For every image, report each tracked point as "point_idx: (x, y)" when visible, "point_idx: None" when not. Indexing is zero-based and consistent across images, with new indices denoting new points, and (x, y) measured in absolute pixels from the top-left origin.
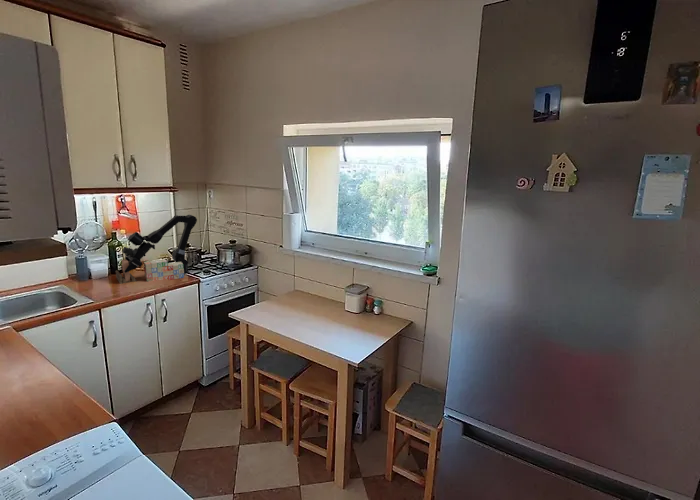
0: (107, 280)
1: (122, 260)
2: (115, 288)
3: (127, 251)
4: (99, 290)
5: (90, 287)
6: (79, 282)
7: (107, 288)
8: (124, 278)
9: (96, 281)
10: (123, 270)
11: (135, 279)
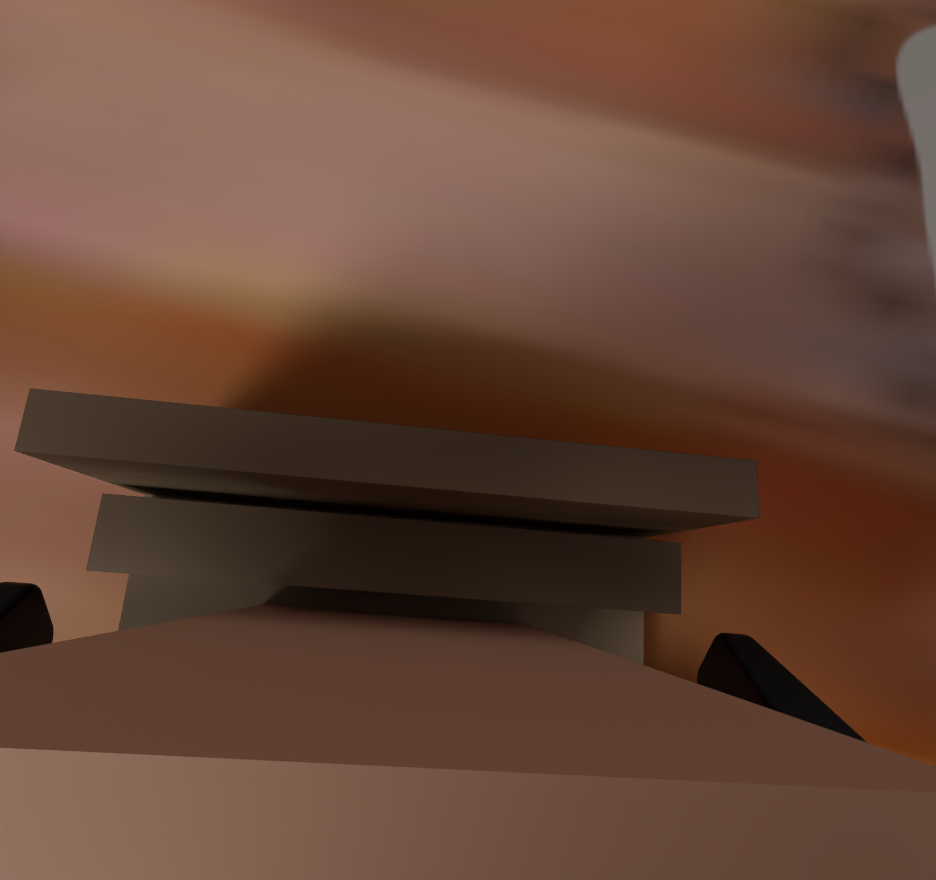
0: (695, 355)
1: (672, 829)
2: (24, 322)
3: None
4: (126, 81)
5: (421, 34)
6: (811, 2)
7: (147, 211)
8: (374, 615)
9: (733, 195)
10: (407, 639)
11: None
